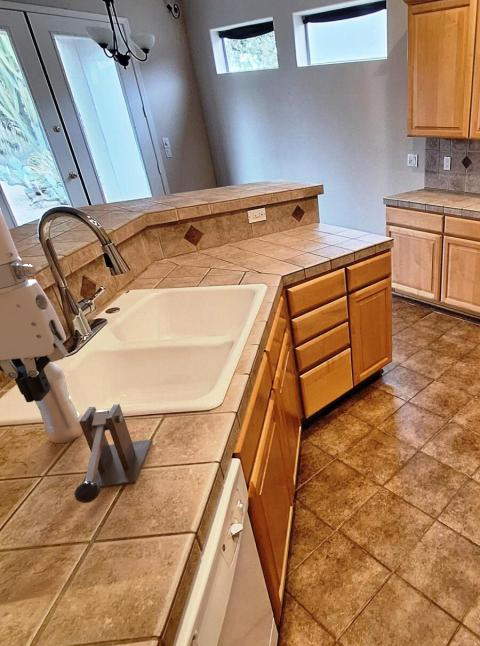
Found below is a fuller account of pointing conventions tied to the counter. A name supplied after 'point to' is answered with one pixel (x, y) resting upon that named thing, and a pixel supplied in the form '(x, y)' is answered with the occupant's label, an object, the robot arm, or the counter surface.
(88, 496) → the tap lever
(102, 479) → the bracket
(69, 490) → the counter surface
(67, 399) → the plastic bottle
